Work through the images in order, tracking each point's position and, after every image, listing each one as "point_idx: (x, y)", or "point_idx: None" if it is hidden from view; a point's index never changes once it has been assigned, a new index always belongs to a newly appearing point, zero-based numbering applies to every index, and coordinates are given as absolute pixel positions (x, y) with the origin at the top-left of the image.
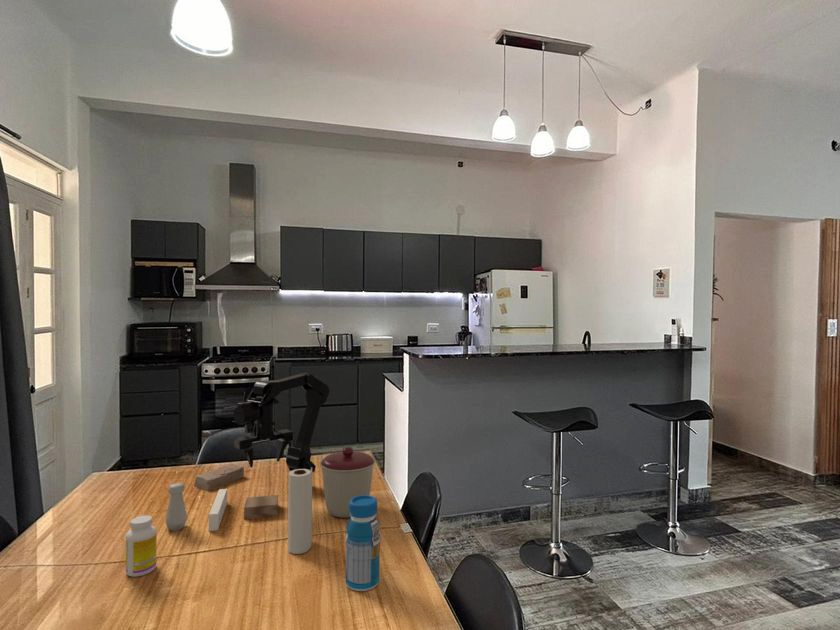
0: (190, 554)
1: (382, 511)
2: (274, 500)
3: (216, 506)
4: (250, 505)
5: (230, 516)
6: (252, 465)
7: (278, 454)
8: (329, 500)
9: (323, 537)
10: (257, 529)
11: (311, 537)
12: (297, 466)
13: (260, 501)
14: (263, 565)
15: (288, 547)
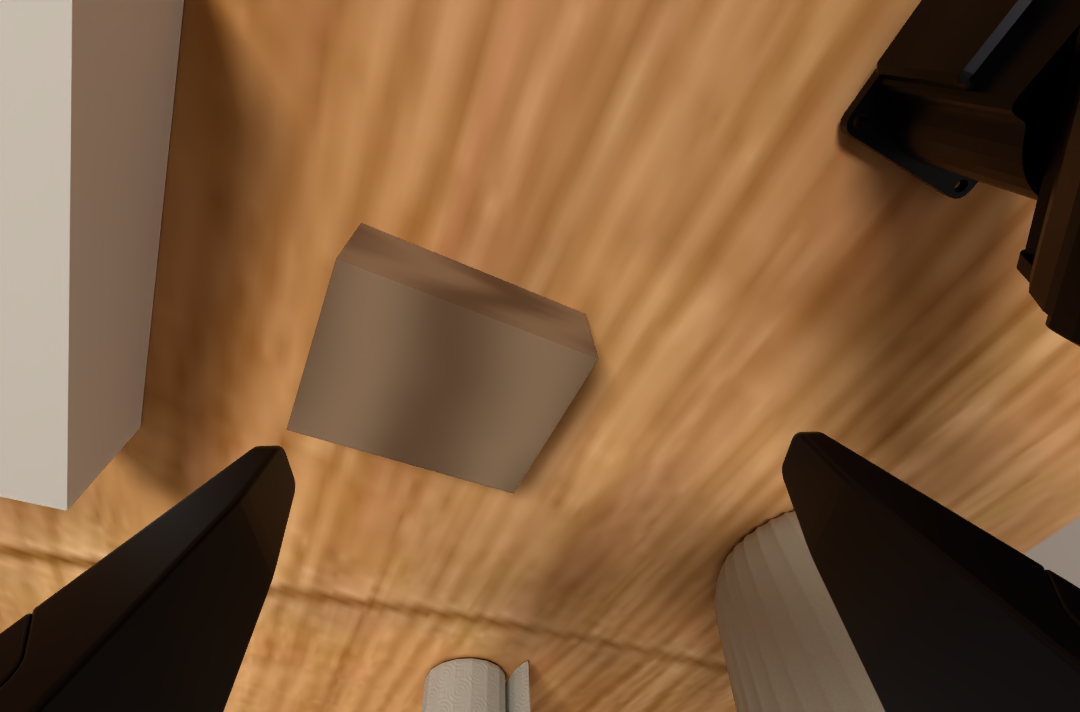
0: (25, 561)
1: None
2: (524, 434)
3: (26, 396)
4: (339, 420)
5: (223, 284)
6: (278, 534)
7: (863, 600)
8: (728, 660)
9: (576, 656)
10: (364, 512)
11: (527, 674)
12: (1043, 303)
13: (427, 398)
14: (326, 695)
15: (423, 694)
